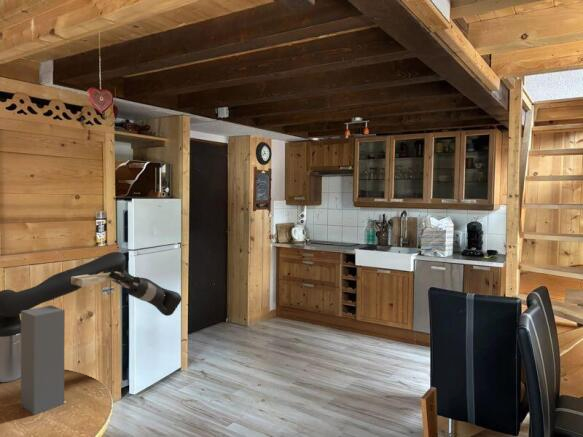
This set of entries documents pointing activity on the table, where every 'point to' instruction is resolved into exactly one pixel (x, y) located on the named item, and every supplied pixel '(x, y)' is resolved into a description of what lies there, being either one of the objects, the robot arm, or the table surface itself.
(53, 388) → the tall grey pillar
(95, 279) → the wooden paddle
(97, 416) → the table surface
